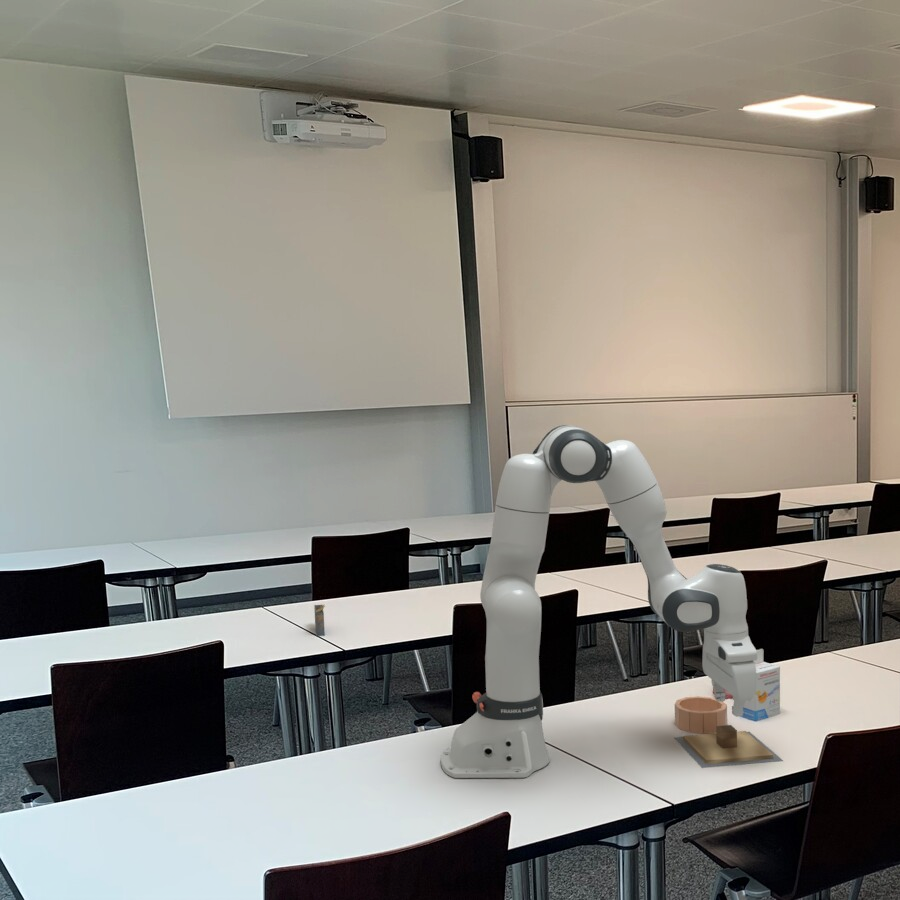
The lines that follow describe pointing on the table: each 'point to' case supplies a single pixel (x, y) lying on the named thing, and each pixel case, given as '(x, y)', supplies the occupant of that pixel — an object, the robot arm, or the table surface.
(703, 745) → the oak cover
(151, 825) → the table surface
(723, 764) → the rubber mat
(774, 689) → the ink box
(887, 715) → the table surface
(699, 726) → the terracotta bowl
